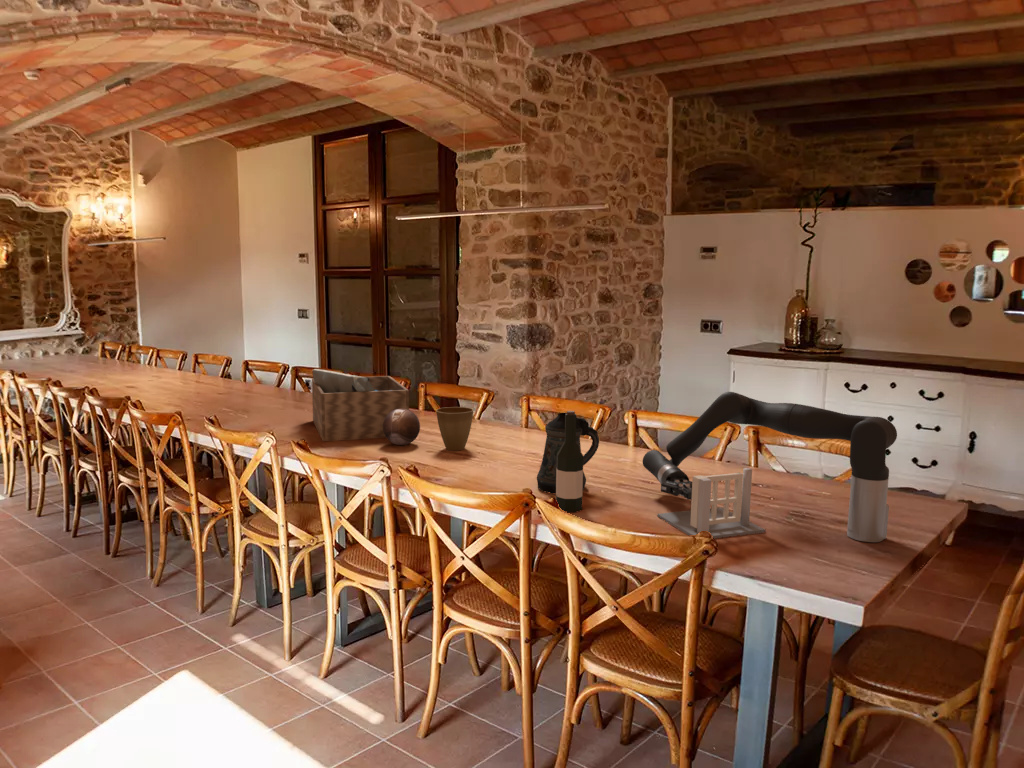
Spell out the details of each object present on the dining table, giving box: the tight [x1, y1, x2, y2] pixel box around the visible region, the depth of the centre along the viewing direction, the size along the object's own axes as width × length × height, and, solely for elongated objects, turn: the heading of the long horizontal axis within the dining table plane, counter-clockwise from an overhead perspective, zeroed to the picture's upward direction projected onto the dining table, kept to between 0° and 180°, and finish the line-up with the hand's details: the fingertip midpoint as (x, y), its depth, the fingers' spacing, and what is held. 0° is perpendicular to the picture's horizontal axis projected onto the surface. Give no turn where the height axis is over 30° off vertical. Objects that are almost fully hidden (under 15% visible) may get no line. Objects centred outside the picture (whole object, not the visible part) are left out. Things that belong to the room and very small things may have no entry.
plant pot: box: [435, 406, 474, 452], centre depth 313 cm, size 15×15×16 cm
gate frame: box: [657, 467, 766, 539], centre depth 223 cm, size 22×22×17 cm
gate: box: [690, 472, 743, 528], centre depth 218 cm, size 15×3×14 cm, turn 110°
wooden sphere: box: [383, 408, 421, 446], centre depth 319 cm, size 15×15×15 cm
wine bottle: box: [555, 410, 584, 513], centre depth 236 cm, size 8×8×30 cm
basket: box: [312, 368, 391, 393], centre depth 350 cm, size 40×31×28 cm
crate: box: [311, 375, 410, 442], centre depth 350 cm, size 36×45×20 cm
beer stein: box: [536, 412, 600, 494], centre depth 259 cm, size 16×19×25 cm
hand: (690, 496), depth 221 cm, fingers closed
